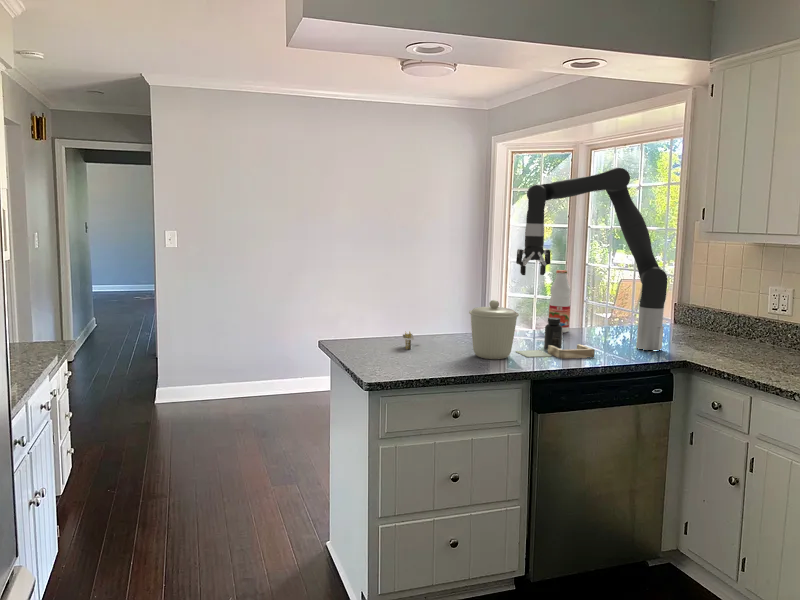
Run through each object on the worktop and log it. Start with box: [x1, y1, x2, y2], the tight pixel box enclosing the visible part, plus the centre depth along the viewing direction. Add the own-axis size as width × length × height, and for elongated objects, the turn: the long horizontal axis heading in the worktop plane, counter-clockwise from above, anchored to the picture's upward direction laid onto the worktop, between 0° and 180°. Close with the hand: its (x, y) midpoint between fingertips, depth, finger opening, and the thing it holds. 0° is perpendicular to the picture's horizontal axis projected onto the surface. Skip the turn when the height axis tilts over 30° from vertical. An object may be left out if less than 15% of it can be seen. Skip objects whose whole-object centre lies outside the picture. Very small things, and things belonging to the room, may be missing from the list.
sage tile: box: [515, 349, 553, 358], centre depth 252 cm, size 10×10×1 cm
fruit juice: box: [548, 269, 572, 334], centre depth 304 cm, size 9×9×28 cm
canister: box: [468, 299, 520, 360], centre depth 244 cm, size 18×18×21 cm
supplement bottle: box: [543, 317, 563, 350], centre depth 265 cm, size 7×7×12 cm
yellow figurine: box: [402, 331, 415, 351], centre depth 257 cm, size 12×18×7 cm, turn 3°
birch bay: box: [547, 344, 596, 360], centre depth 252 cm, size 10×14×3 cm
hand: (532, 275), depth 270 cm, fingers open, 8 cm apart
